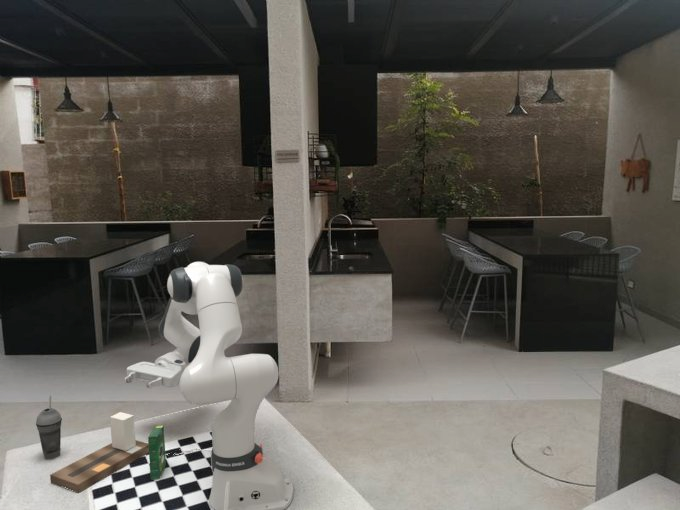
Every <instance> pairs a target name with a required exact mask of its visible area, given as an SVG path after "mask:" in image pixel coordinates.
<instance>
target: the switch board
mask: <svg viewBox="0 0 680 510" xmlns="http://www.w3.org/2000/svg"><path fill="white" fill-rule="evenodd" d="M135 440H136V439H135ZM147 454H149V445H148V442H144V441H140V440H136V446H134V447H132V448H130V449H128V450H127V451H124V450H121V449H117V448H114V447H112V442H111V443H109V444H107V445H105V446H103V447H101V448H99V449H97V450H95V451H93V452H91V453H90V454H87V455H85V456H83V457H81V458H79V459H78V460H76V461H75V462H72V463H70V464H68V465H67V466H65V467H63V468H61V469H58V470H57V471H54V472H53V473H51V474H49V477H50V478H49V479H50V484H52V483H54V484H53V485H55V484H57V485H56V486H58V485H60V486H59V487H61V486H63V487H66V488H68V489H67V490H69V489H71V490H70V491H72V490H73V491H72V492H74V491H76V492H75V493H77V492H80V493H82V492H83V491H85V490H87V489H88V488H89V487H91V486H93V485H96V484H97V483H99V482H101V481H102V480H104V479H105V478H107V477H109V476H110V475H113V474H114V473H115V472H117V470H118V471H119V470H121V469H123V468H125V467H126V466H128V465H130V464H131V463H133V462H135V461H137V460H139V459H140V458H141V457H143V456H145V455H147ZM63 487H62V488H63ZM66 488H65V489H66Z"/></svg>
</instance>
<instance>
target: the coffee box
mask: <svg viewBox="0 0 680 510" xmlns="http://www.w3.org/2000/svg"><path fill="white" fill-rule="evenodd" d="M164 428H165V427H164V425H162V424H160V425H154V426H153V428H152V429H151V431H150V433H149V434H148V436H147V443H148V445H149V453H148V458H149V475H150V480H153V481H154V480H159V479H161V477H162V474H163V473H164V471H165V469H166V467H167V460H166V459H167V456H166V454H167V453H166V441H165V440H166V439H165V430H164Z"/></svg>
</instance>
